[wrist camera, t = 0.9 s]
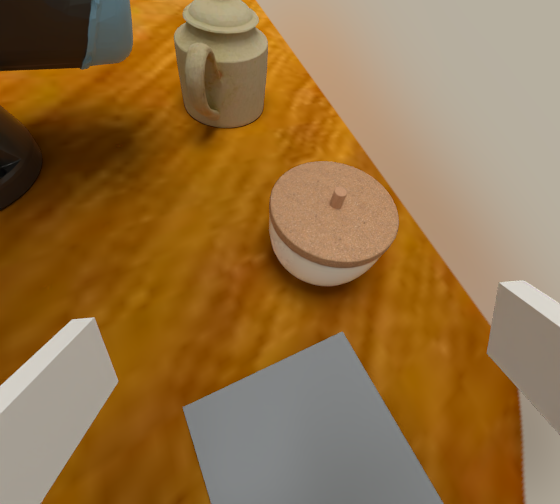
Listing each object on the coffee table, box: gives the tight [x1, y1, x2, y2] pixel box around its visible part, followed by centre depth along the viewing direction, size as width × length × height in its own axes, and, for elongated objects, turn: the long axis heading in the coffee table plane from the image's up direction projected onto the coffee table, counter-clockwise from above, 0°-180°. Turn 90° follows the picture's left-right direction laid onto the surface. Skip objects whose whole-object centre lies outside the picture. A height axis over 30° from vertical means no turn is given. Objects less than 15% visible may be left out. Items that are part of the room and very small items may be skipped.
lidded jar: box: [269, 161, 399, 286], centre depth 28 cm, size 11×11×9 cm
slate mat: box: [183, 332, 443, 504], centre depth 22 cm, size 14×14×1 cm
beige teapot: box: [174, 0, 268, 128], centre depth 37 cm, size 15×11×15 cm
